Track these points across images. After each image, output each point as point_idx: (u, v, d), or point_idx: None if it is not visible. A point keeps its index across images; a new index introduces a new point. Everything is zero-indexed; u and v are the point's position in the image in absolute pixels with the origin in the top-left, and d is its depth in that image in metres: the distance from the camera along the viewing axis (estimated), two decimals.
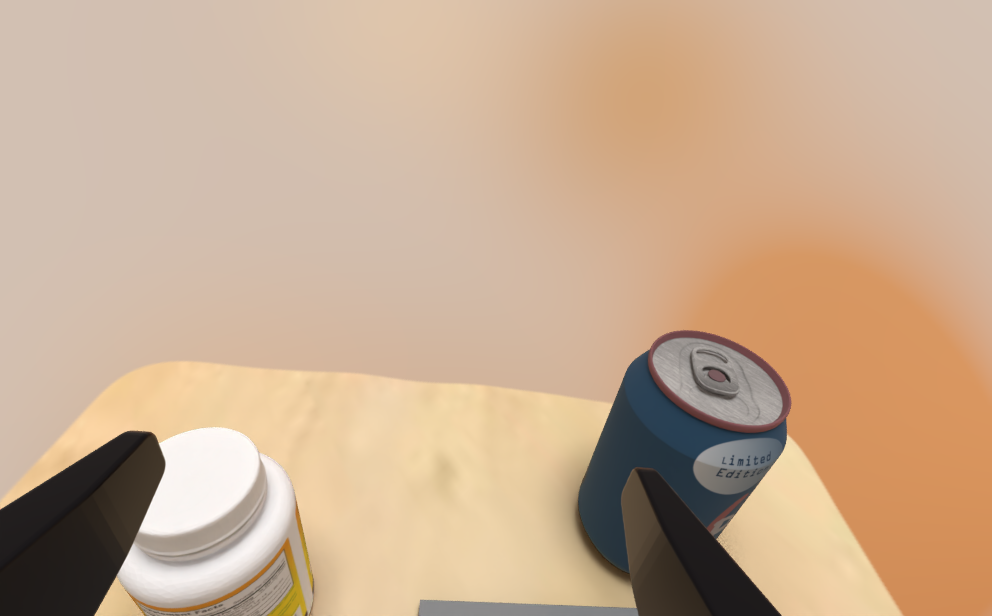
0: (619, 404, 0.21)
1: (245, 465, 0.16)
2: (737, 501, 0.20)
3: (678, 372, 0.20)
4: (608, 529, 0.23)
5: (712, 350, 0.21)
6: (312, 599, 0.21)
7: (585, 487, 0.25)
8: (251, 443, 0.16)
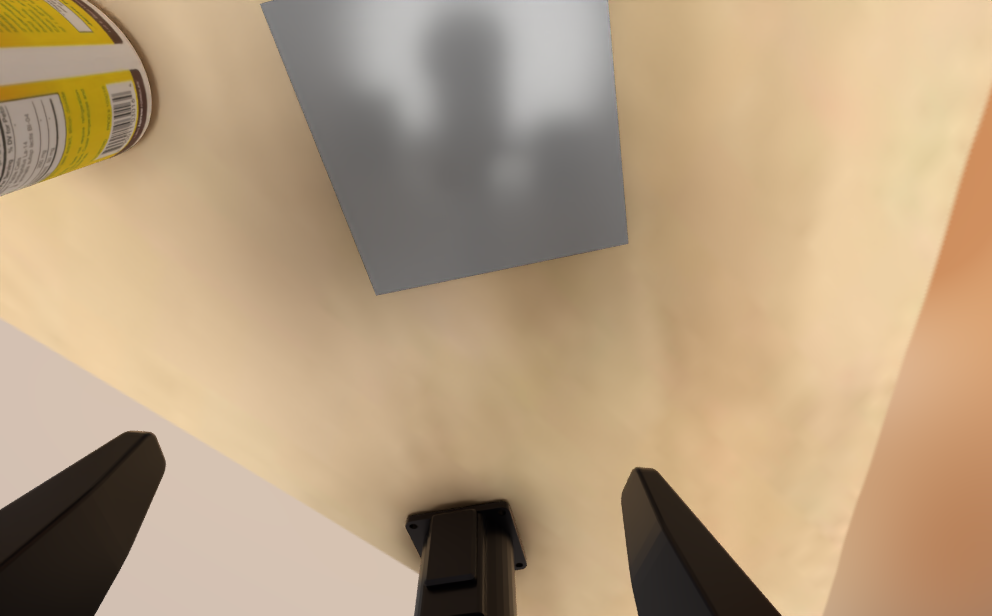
0: None
1: None
2: None
3: None
4: None
5: None
6: (127, 48, 0.16)
7: None
8: None
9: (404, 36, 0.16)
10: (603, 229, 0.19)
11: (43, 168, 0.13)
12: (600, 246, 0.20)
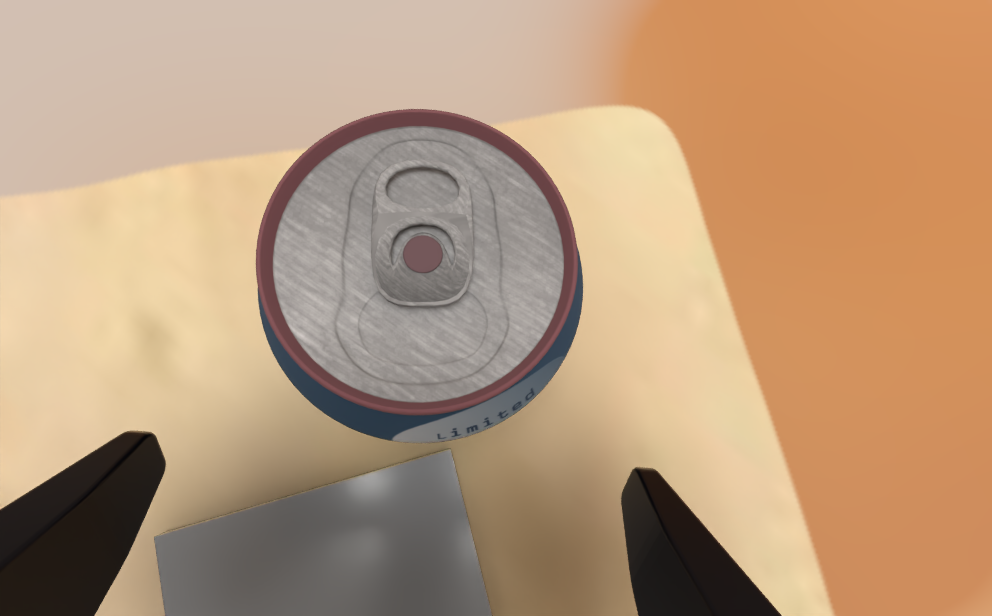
0: None
1: None
2: None
3: (337, 265, 0.09)
4: None
5: (427, 165, 0.09)
6: None
7: None
8: None
9: (284, 552, 0.17)
10: None
11: None
12: None
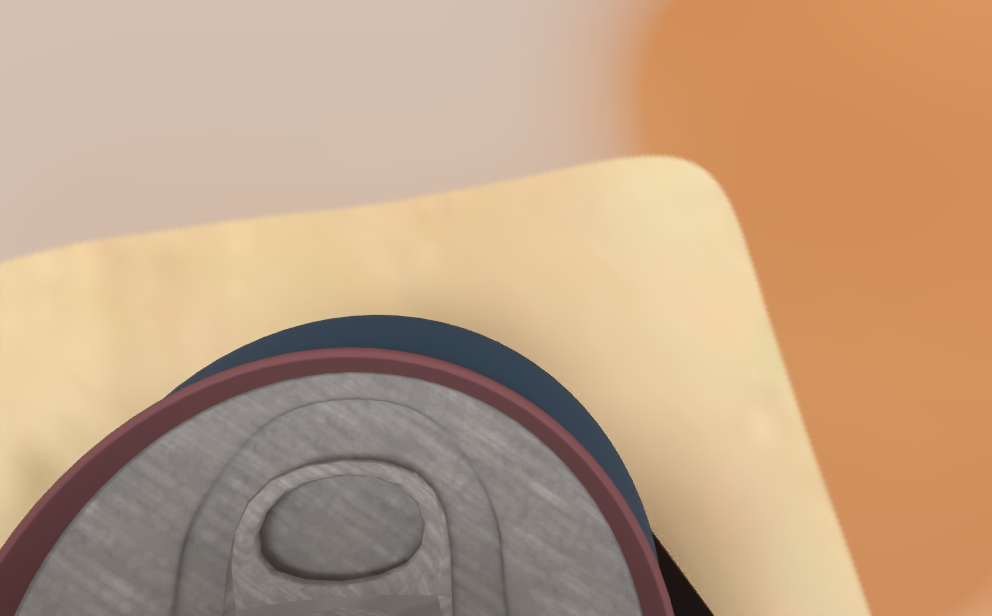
0: None
1: None
2: None
3: None
4: None
5: (354, 474, 0.04)
6: None
7: None
8: None
9: None
10: None
11: None
12: None
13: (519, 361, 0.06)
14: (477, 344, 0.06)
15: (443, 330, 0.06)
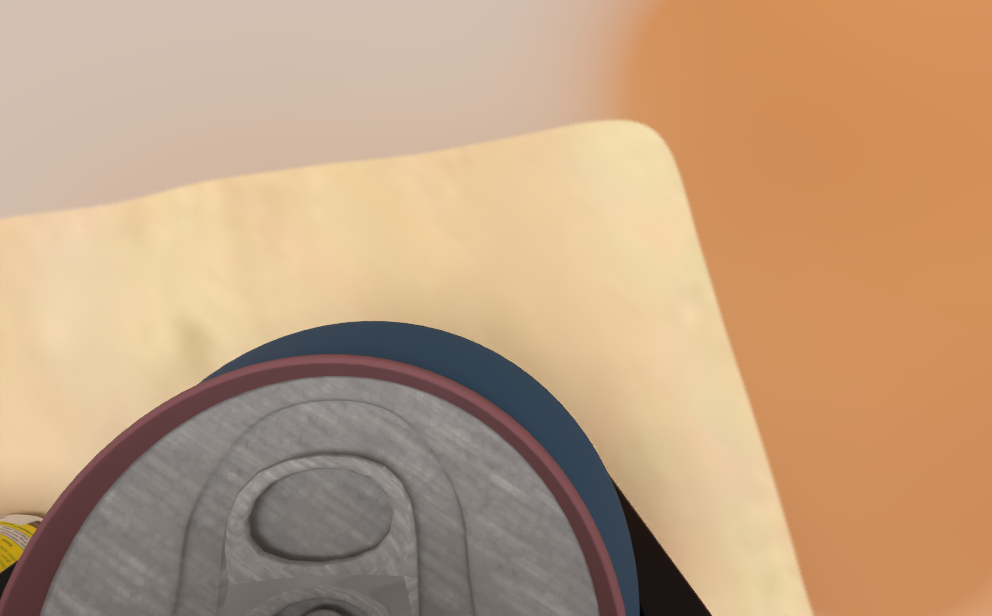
0: None
1: None
2: None
3: None
4: None
5: (329, 467, 0.05)
6: None
7: None
8: None
9: None
10: None
11: None
12: None
13: (495, 361, 0.06)
14: (455, 346, 0.06)
15: (424, 334, 0.06)
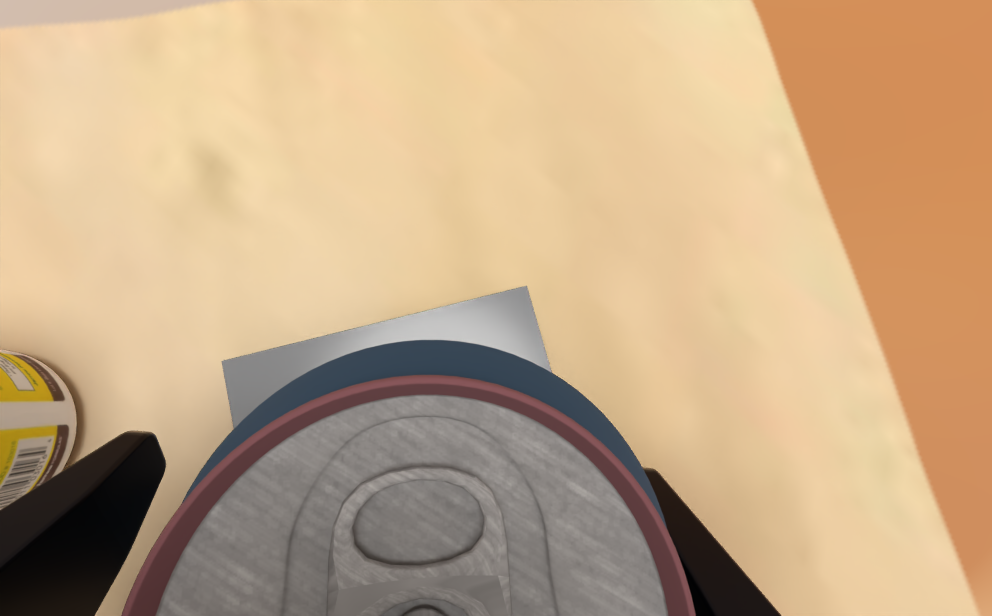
0: None
1: None
2: None
3: None
4: None
5: (426, 479, 0.05)
6: (66, 405, 0.15)
7: None
8: None
9: None
10: None
11: None
12: None
13: (549, 378, 0.07)
14: (513, 364, 0.07)
15: (484, 352, 0.07)
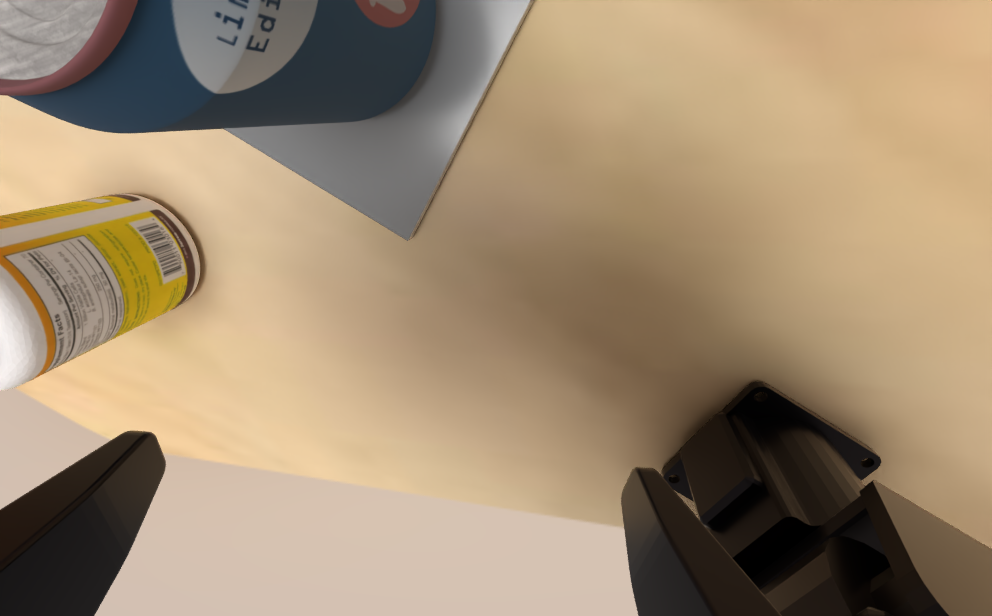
0: None
1: None
2: None
3: None
4: (332, 122, 0.15)
5: None
6: (145, 201, 0.20)
7: None
8: None
9: None
10: None
11: (107, 290, 0.17)
12: None
13: None
14: None
15: None
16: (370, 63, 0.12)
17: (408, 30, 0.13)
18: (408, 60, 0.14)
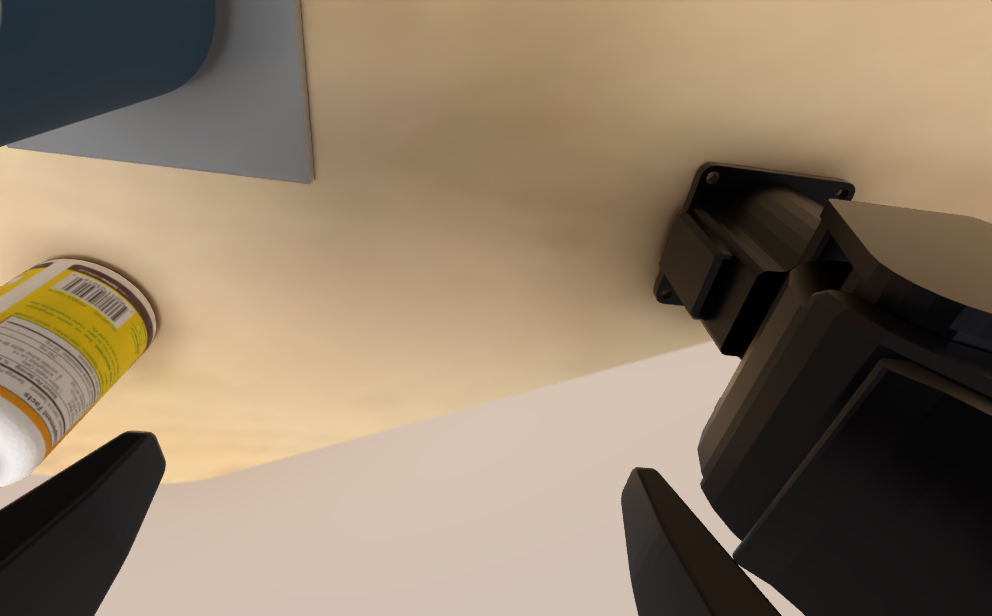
0: None
1: None
2: None
3: None
4: (153, 92, 0.14)
5: None
6: (58, 262, 0.20)
7: None
8: None
9: None
10: None
11: (62, 355, 0.18)
12: None
13: None
14: None
15: None
16: (126, 2, 0.11)
17: None
18: None
